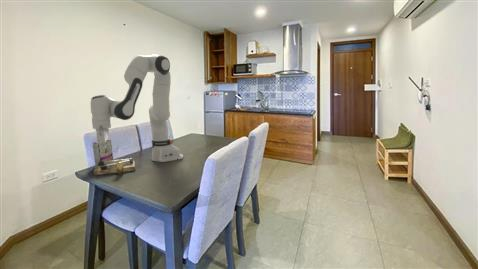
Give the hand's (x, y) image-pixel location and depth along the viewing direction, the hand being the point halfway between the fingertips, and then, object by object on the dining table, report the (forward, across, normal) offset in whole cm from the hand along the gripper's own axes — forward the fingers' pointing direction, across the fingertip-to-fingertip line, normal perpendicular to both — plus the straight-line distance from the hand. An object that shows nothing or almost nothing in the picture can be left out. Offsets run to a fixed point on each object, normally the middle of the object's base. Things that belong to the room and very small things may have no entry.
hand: (104, 148), depth 134 cm
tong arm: (+14, +8, -5) cm, 17 cm away
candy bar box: (+17, +23, +3) cm, 29 cm away
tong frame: (+14, +14, -5) cm, 20 cm away
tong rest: (+16, +11, -4) cm, 20 cm away
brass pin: (+16, +2, -7) cm, 18 cm away
